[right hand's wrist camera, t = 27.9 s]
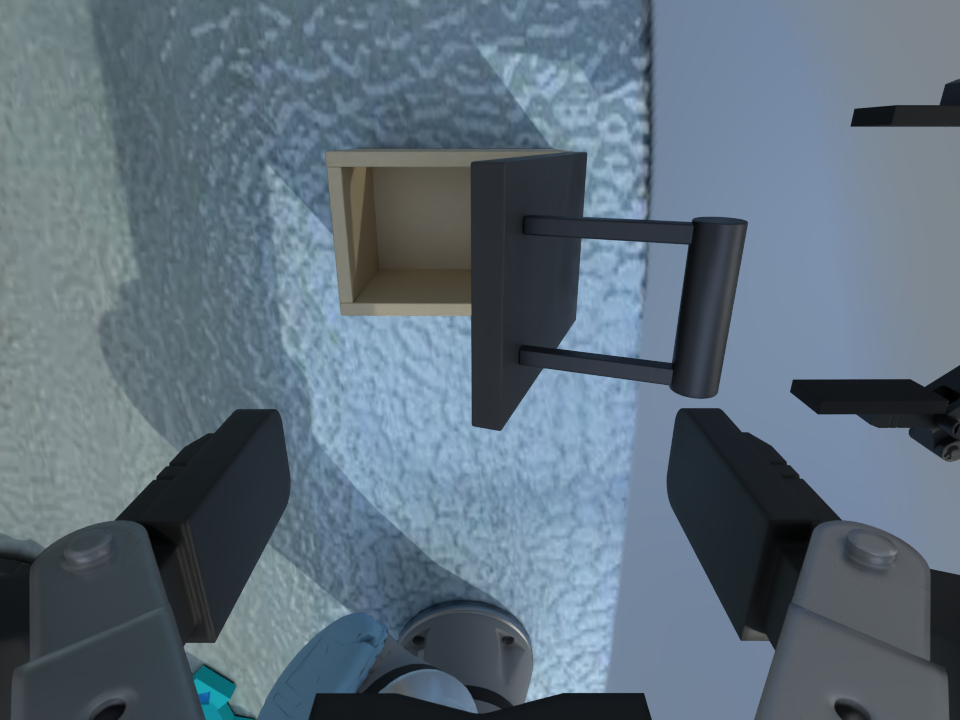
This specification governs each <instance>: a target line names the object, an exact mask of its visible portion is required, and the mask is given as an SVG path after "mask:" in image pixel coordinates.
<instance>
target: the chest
mask: <svg viewBox="0 0 960 720" xmlns="http://www.w3.org/2000/svg"><path fill="white" fill-rule="evenodd" d="M562 152H572V151H565V150H558V149H552V148H359V149H349V150H337V151H326V152H325V155H326V165H327V175H328V185H329V195H330V206H331V216H332V227H333V237H334V247H335V258H336V268H337V279H338V289H339V299H340V309H341V315H347V316H471V162H473V161H482V160H492V159H502V158H512V157H522V156H532V155H542V154H552V153H562Z"/></svg>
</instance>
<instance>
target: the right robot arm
mask: <svg viewBox="0 0 960 720" xmlns="http://www.w3.org/2000/svg"><path fill="white" fill-rule="evenodd" d="M667 492H668V498H669V502H670V505H671V507H672V509H673V511H674V513H675V515H676V517H677V519H678V521H679V523H680V524H681V526H682V528H683V530H684V532H685V534H686V536H687V538H688V540H689V542H690V544H691V546H692V548H693V549H694V551H695V553H696V555H697V557H698V559H699V561H700V563H701V565H702V567H703V569H704V571H705V573H706V574H707V576H708V578H709V580H710V582H711V584H712V586H713V588H714V590H715V592H716V594H717V596H718V597H719V600H720V601H721V603H722V605H723V607H724V609H725V611H726V613H727V615H728V617H729V619H730V621H731V623H732V625H733V626H734V628H735V630H736V632H737V634H738V636H739V638H740V640H741V641H770V642H771V644H772V646H773V648H774V649H775V654H774V657H773V660H772V663H771V667H770V670H769V673H768V676H767V680H766V683H765V686H764V689H763V693H762V696H761V699H760V702H759V706H758V709H757V712H756V716H755V719H754V720H960V575H957V574H952V573H947V572H942V571H937V570H933V569H930V568H929V566H928V564H927V562H926V561H925V559H924V558H923V557H922V556H921V555H920V554H919V553H918V552H917V551H916V550H915V549H914V548H913V547H911V546H910V545H909V544H907V543H906V542H904V541H903V540H901V539H899V538H898V537H896V536H894V535H892V534H890V533H888V532H886V531H883V530H881V529H878V528H875V527H873V526H869V525H866V524H862V523H858V522H852V521H842V520H841V519H840V518H839V517H838V516H837V514H835V512H834V511H833V510H832V509H831V508H830V507H829V506H828V505H827V504H826V503H825V502H824V501H823V500H822V499H821V498H820V497H819V496H818V494H817V493H816V492H815V491H814V490H813V489H812V488H811V487H810V486H809V485H808V484H807V483H806V482H805V481H804V480H803V479H800V478H799V474H798V473H797V472H796V471H795V470H794V469H793V468H792V467H791V466H790V465H787V462H786V461H785V460H784V459H783V458H782V456H781V455H780V454H779V453H778V452H777V451H776V450H775V449H774V448H773V447H772V446H771V445H769V444H767V443H765V442H764V441H762V440H760V439H759V438H757V437H755V436H753V435H752V434H750V433H748V432H741V431H740V430H739V428H738V427H737V426H736V425H735V424H734V423H733V422H732V421H731V420H730V418H729V417H728V416H727V415H726V414H725V413H724V412H723V411H722V410H721V409H719V408H682V409H680V410H679V411H678V413H677V415H676V419H675V424H674V431H673V438H672V445H671V451H670V458H669V465H668V472H667ZM289 495H290V471H289V465H288V458H287V451H286V445H285V438H284V432H283V425H282V419H281V416H280V414H279V412H278V411H277V410H276V409H237V410H235V411H234V412H233V413H232V414H231V415H230V417H229V418H228V419H227V420H226V421H225V422H224V423H223V424H222V425H221V427H220V428H219V429H218V430H217V431H216V432H215V433H208V434H207V435H205V436H203V437H201V438H200V439H198V440H196V441H194V442H193V443H191V444H189V445H188V446H186V447H184V448H183V449H182V450H181V452H180V453H179V454H178V455H177V456H176V457H175V458H174V459H173V460H172V461H171V462H170V463H169V466H166V467H165V468H164V469H163V470H162V471H161V472H160V473H159V475H158V476H157V479H156V480H153V481H152V482H151V483H150V484H149V485H148V486H147V487H146V488H145V489H144V490H143V491H142V492H141V493H140V494H139V495H138V496H137V498H136V499H135V500H134V501H133V502H132V503H131V504H130V505H129V506H128V507H127V508H126V509H125V510H124V511H123V512H122V513H121V514H120V515H119V516H118V517H117V518H116V519H115V521H108V522H102V523H98V524H94V525H91V526H87V527H84V528H82V529H79V530H77V531H74V532H72V533H70V534H68V535H66V536H64V537H62V538H61V539H59V540H57V541H56V542H54V543H53V544H51V545H50V546H49V547H47V548H46V549H45V550H44V551H43V552H42V553H41V554H40V555H39V556H38V557H37V558H36V559H35V561H34V562H33V564H32V566H31V568H30V570H26V571H22V572H17V573H12V574H7V575H2V576H0V720H206V719H205V715H204V712H203V709H202V706H201V702H200V699H199V696H198V693H197V689H196V686H195V683H194V680H193V676H192V673H191V670H190V667H189V663H188V660H187V657H186V654H185V650H184V645H185V643H215V641H216V640H217V638H218V636H219V634H220V632H221V630H222V628H223V626H224V624H225V622H226V621H227V619H228V617H229V615H230V613H231V611H232V609H233V607H234V605H235V603H236V602H237V600H238V598H239V596H240V594H241V592H242V590H243V588H244V586H245V584H246V583H247V581H248V579H249V577H250V575H251V573H252V571H253V569H254V567H255V565H256V564H257V562H258V560H259V558H260V556H261V554H262V552H263V550H264V548H265V546H266V544H267V543H268V541H269V539H270V537H271V535H272V533H273V531H274V529H275V527H276V525H277V524H278V522H279V520H280V518H281V516H282V514H283V512H284V510H285V508H286V506H287V503H288V500H289ZM308 720H652V719H651V716H650V712H649V709H648V706H647V702H646V699H645V695H644V693H562V694H558V695H554V696H550V697H546V698H543V699H539V700H535V701H531V702H527V703H523V704H520V705H516V706H512V707H508V708H504V709H500V710H496V711H493V712H488V713H472V712H467V711H464V710H460V709H456V708H452V707H448V706H444V705H440V704H437V703H433V702H429V701H425V700H421V699H417V698H414V697H410V696H406V695H402V694H398V693H316V695H315V699H314V702H313V705H312V709H311V712H310V716H309V719H308Z"/></svg>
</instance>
